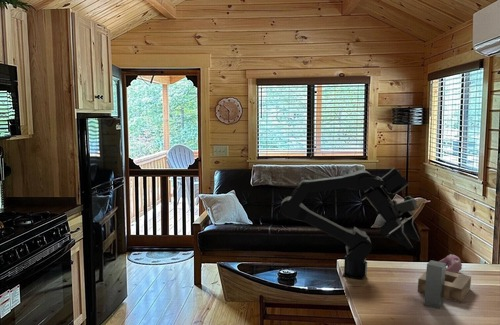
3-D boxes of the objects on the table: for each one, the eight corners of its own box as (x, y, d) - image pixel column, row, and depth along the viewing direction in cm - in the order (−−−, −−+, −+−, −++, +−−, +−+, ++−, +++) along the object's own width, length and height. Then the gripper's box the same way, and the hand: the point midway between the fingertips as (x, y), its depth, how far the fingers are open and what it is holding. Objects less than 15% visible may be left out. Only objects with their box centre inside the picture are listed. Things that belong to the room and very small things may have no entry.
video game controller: (455, 282, 143) (466, 264, 142) (442, 275, 144) (453, 257, 142) (447, 271, 153) (458, 254, 151) (435, 264, 153) (446, 248, 152)
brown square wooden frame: (417, 291, 132) (418, 278, 132) (429, 279, 142) (430, 267, 141) (460, 302, 125) (461, 289, 124) (470, 289, 134) (471, 276, 134)
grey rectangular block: (424, 305, 123) (426, 264, 122) (428, 300, 126) (431, 260, 125) (439, 309, 121) (442, 267, 119) (443, 304, 124) (446, 263, 122)
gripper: (393, 193, 128) (430, 237, 123) (410, 184, 143) (442, 223, 139) (365, 214, 133) (399, 258, 129) (384, 204, 149) (414, 242, 144)
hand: (415, 244), depth 135 cm, fingers open, 9 cm apart
